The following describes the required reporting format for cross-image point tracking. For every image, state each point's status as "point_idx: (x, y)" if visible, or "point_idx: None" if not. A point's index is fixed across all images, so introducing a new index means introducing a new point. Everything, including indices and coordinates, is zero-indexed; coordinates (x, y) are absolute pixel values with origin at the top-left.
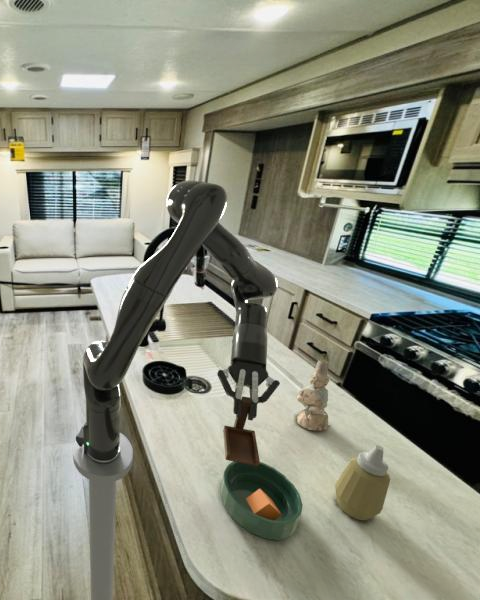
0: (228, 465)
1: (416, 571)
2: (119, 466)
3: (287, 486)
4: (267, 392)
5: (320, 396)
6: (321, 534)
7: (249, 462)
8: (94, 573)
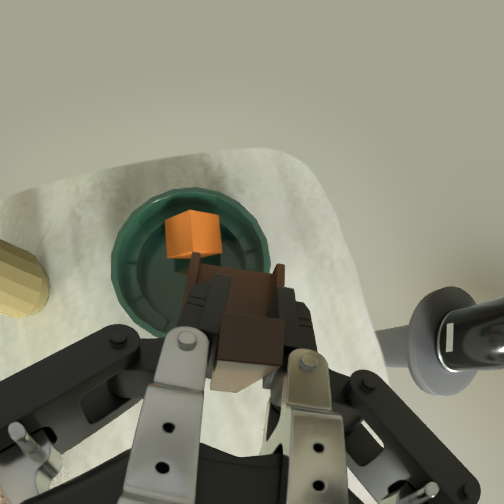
0: None
1: (27, 208)
2: (430, 313)
3: (122, 286)
4: (73, 374)
5: None
6: (104, 235)
7: (215, 267)
8: None
